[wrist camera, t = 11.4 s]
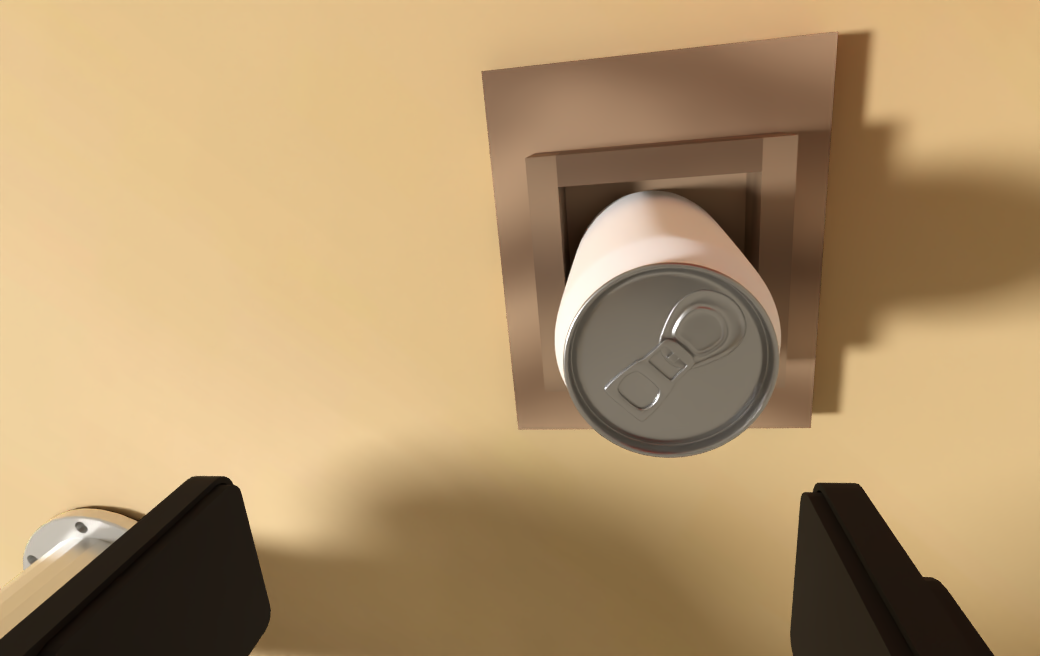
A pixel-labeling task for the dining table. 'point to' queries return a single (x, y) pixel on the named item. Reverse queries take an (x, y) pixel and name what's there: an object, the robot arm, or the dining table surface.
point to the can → (665, 329)
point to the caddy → (664, 185)
